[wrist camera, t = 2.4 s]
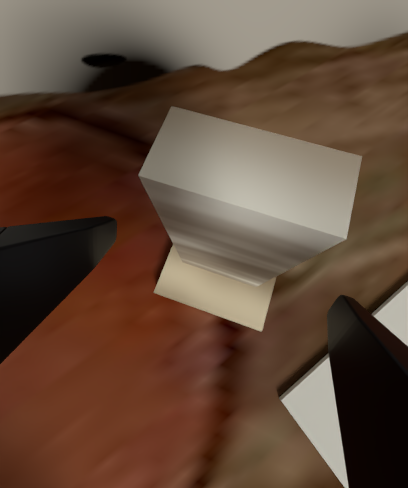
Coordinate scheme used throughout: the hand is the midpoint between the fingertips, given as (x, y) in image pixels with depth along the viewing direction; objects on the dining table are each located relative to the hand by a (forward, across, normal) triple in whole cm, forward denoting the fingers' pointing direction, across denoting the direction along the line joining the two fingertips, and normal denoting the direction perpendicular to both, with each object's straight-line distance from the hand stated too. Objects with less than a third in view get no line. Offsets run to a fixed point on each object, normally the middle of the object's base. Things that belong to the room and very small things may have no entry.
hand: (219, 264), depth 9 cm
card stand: (+8, 0, +5) cm, 10 cm away
